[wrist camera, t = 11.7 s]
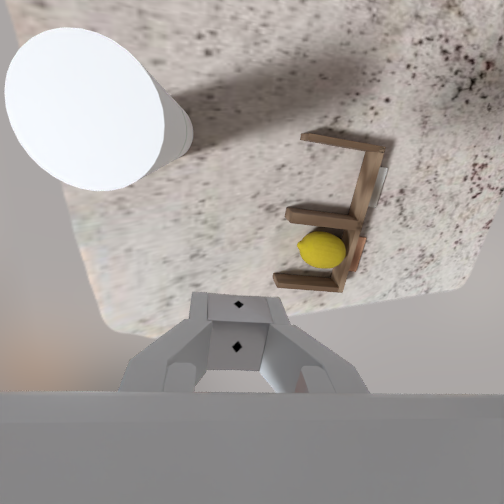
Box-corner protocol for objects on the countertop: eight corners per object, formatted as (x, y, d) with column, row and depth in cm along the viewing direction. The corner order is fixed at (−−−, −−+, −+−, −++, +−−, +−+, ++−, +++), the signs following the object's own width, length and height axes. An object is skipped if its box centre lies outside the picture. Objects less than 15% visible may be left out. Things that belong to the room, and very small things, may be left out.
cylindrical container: (156, 86, 35) (49, -16, 12) (204, 126, 37) (192, 105, 14) (125, 135, 36) (-23, 128, 13) (173, 171, 39) (118, 217, 16)
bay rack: (301, 133, 39) (309, 133, 36) (392, 149, 42) (407, 150, 38) (272, 277, 47) (277, 287, 44) (350, 283, 49) (360, 294, 46)
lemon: (293, 229, 45) (337, 240, 47) (287, 264, 44) (333, 273, 46) (308, 222, 40) (358, 235, 42) (302, 261, 39) (353, 272, 41)
